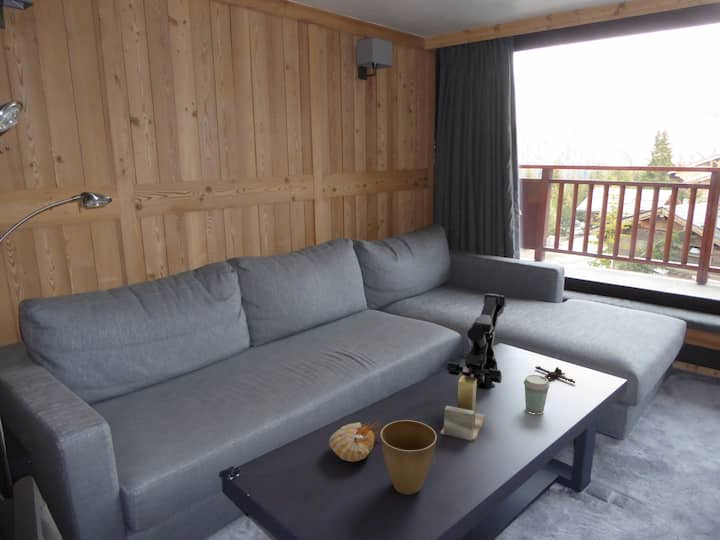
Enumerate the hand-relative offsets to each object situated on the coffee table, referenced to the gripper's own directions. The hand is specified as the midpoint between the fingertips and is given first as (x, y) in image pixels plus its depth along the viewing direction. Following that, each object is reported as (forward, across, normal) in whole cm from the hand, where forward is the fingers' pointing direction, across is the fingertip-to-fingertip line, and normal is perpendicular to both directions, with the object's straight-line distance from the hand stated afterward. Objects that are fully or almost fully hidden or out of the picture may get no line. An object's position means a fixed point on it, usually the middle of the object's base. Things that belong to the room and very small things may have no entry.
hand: (469, 395), depth 178 cm
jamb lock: (+10, 0, +1) cm, 10 cm away
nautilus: (+30, -25, -18) cm, 43 cm away
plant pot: (+38, -6, -26) cm, 46 cm away
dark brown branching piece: (-24, +23, +36) cm, 49 cm away
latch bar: (+7, 0, +3) cm, 7 cm away
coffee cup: (-4, +20, +15) cm, 26 cm away
